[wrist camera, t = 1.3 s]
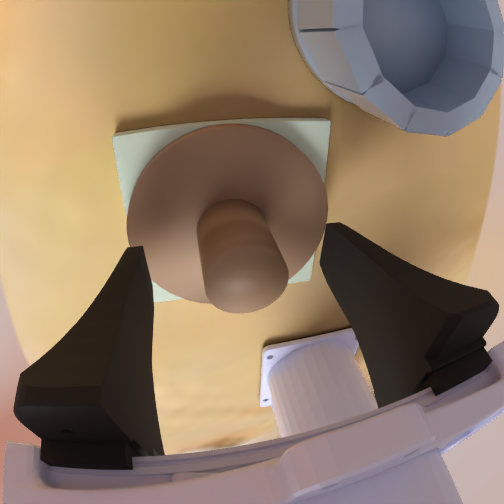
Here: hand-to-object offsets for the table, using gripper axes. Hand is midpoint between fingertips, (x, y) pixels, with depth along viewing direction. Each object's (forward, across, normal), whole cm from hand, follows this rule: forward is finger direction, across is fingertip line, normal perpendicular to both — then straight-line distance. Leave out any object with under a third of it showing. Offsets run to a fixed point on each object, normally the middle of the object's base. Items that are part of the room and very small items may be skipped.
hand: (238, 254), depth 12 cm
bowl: (+3, -7, -9) cm, 12 cm away
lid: (+3, 0, 0) cm, 3 cm away
